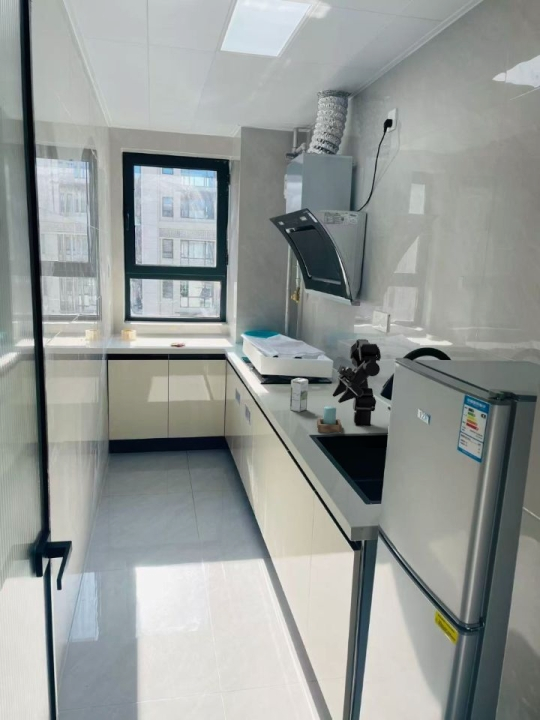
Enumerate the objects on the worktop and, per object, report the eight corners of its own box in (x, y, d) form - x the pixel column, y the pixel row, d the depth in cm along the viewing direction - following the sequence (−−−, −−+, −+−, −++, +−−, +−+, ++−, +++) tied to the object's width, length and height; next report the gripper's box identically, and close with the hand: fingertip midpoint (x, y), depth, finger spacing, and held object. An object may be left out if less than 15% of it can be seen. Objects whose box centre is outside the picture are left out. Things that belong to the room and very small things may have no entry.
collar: (339, 426, 233) (339, 419, 232) (341, 432, 224) (341, 425, 223) (316, 425, 233) (317, 418, 233) (318, 432, 224) (318, 424, 223)
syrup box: (297, 407, 261) (298, 377, 259) (307, 409, 258) (308, 379, 255) (289, 409, 257) (290, 379, 255) (300, 412, 253) (301, 381, 251)
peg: (334, 427, 231) (335, 406, 229) (335, 431, 226) (336, 409, 224) (322, 427, 231) (323, 406, 230) (323, 430, 226) (324, 409, 225)
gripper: (344, 354, 233) (317, 380, 234) (356, 363, 215) (328, 392, 216) (361, 372, 236) (335, 397, 237) (375, 382, 218) (347, 410, 219)
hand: (335, 399), depth 227 cm, fingers open, 9 cm apart
